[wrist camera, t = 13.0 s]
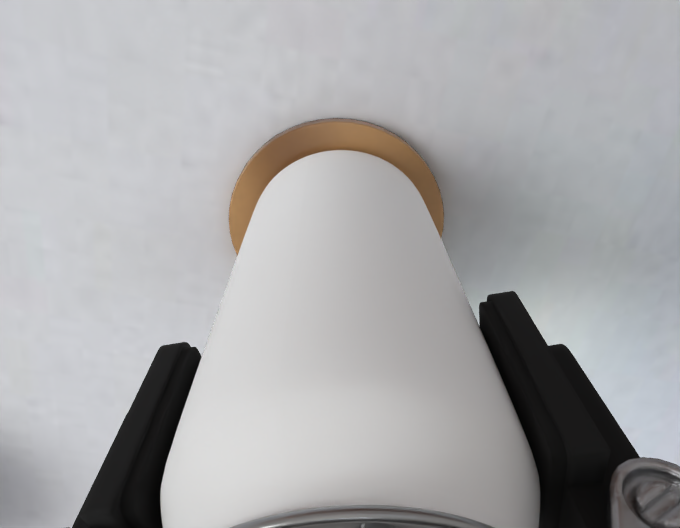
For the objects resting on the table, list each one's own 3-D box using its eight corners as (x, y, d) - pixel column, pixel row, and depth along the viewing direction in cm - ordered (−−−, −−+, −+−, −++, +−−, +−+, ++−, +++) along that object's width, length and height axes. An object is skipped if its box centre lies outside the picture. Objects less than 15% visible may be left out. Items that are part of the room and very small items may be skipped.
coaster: (333, 63, 14) (334, 66, 13) (483, 222, 17) (487, 228, 16) (188, 227, 17) (185, 233, 16) (338, 336, 20) (338, 344, 19)
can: (229, 265, 17) (79, 668, 7) (294, 111, 14) (197, 427, 4) (375, 320, 19) (426, 715, 9) (461, 193, 16) (702, 568, 6)
